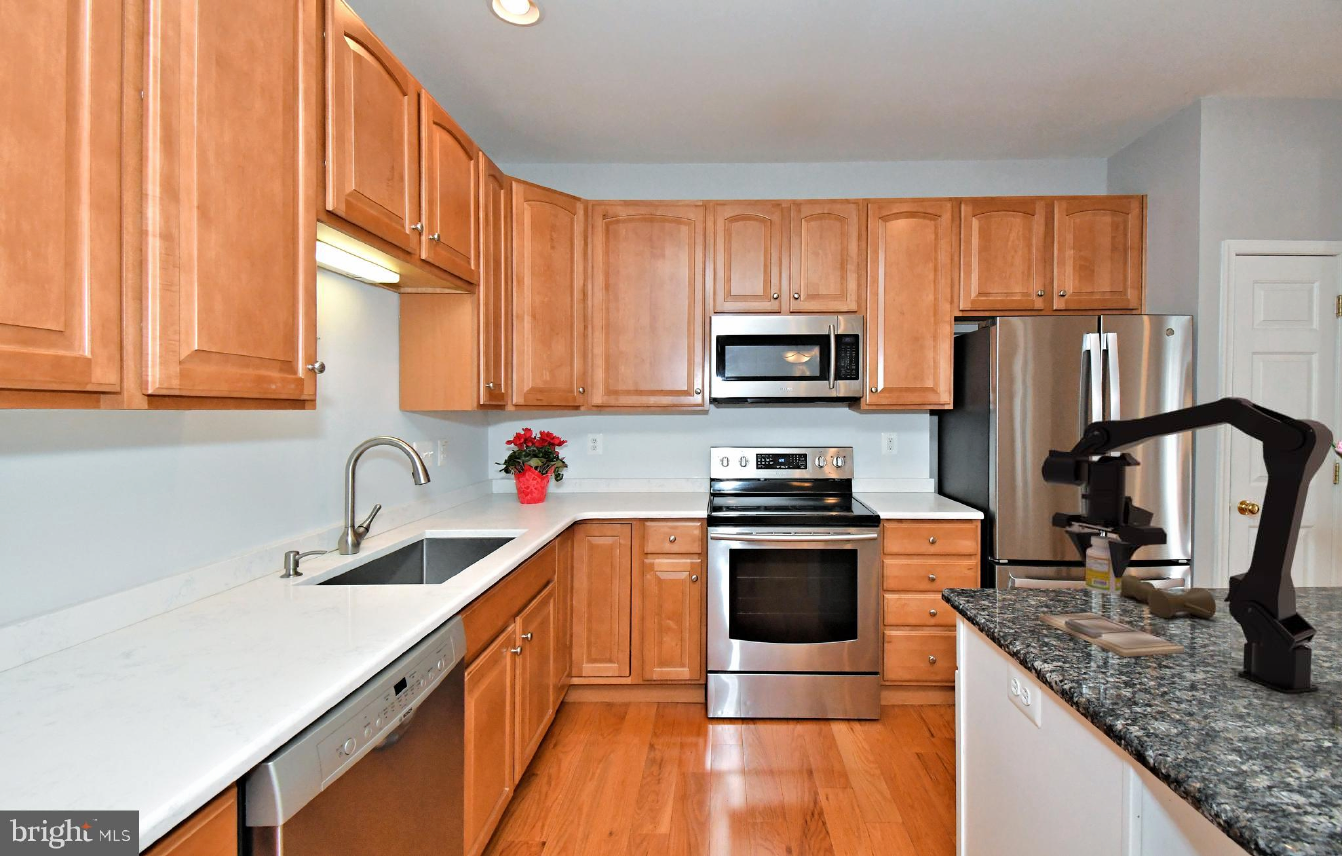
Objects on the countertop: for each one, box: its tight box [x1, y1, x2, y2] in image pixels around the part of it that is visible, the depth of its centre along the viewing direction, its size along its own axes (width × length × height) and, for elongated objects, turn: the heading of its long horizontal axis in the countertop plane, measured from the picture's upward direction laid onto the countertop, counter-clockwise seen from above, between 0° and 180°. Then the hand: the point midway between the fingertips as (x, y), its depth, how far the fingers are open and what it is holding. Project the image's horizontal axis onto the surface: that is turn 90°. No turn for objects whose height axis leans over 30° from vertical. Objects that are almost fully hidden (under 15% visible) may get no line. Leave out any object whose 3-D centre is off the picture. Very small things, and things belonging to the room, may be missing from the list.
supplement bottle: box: [1085, 535, 1123, 595], centre depth 112 cm, size 5×5×10 cm
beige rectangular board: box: [1038, 612, 1185, 658], centre depth 110 cm, size 18×12×2 cm, turn 11°
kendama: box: [1119, 574, 1217, 620], centre depth 125 cm, size 6×10×20 cm
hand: (1103, 573), depth 112 cm, fingers closed on supplement bottle, 5 cm apart
